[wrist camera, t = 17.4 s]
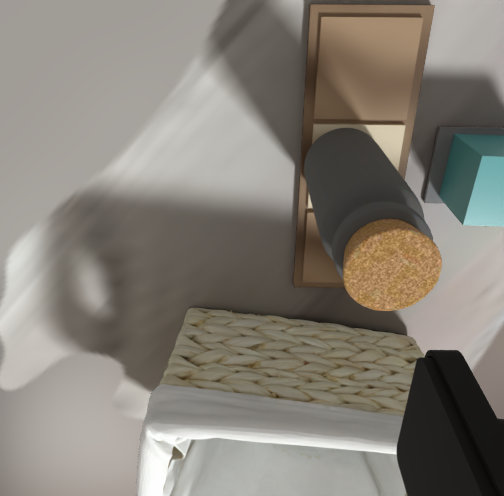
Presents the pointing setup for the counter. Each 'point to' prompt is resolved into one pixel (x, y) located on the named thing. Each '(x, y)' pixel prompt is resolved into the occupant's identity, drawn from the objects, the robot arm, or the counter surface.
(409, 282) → the bottle
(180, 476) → the storage basket
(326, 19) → the board
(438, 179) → the mat
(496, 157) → the cube
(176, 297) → the counter surface
